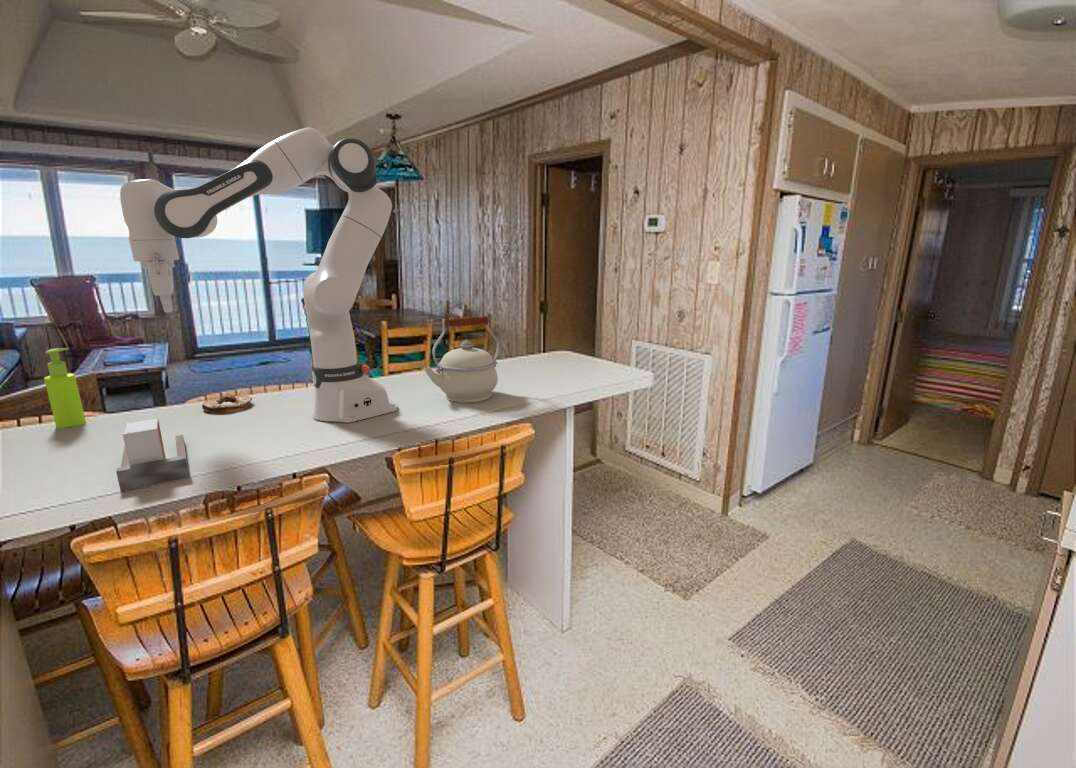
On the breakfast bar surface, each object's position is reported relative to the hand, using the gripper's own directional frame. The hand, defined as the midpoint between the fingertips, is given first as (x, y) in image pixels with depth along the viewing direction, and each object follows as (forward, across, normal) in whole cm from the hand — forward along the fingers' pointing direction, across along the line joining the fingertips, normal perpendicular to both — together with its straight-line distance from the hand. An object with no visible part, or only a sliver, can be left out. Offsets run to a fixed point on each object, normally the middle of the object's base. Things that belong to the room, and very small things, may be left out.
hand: (168, 311), depth 125 cm
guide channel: (+30, -22, +8) cm, 38 cm away
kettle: (+33, -13, -70) cm, 79 cm away
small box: (+30, -28, +8) cm, 42 cm away
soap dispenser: (+29, +22, +27) cm, 45 cm away
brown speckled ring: (+31, +15, -8) cm, 35 cm away
